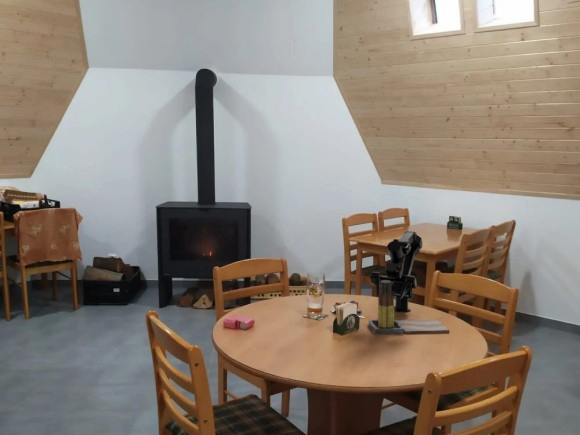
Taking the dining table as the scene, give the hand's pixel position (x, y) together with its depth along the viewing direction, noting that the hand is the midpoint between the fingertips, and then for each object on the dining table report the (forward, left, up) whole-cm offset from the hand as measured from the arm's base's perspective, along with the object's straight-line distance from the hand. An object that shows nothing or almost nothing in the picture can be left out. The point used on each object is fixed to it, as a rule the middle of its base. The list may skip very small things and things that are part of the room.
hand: (388, 297), depth 207 cm
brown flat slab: (+2, +13, -12) cm, 18 cm away
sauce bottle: (+3, -2, -12) cm, 13 cm away
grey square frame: (+3, -2, -12) cm, 13 cm away
